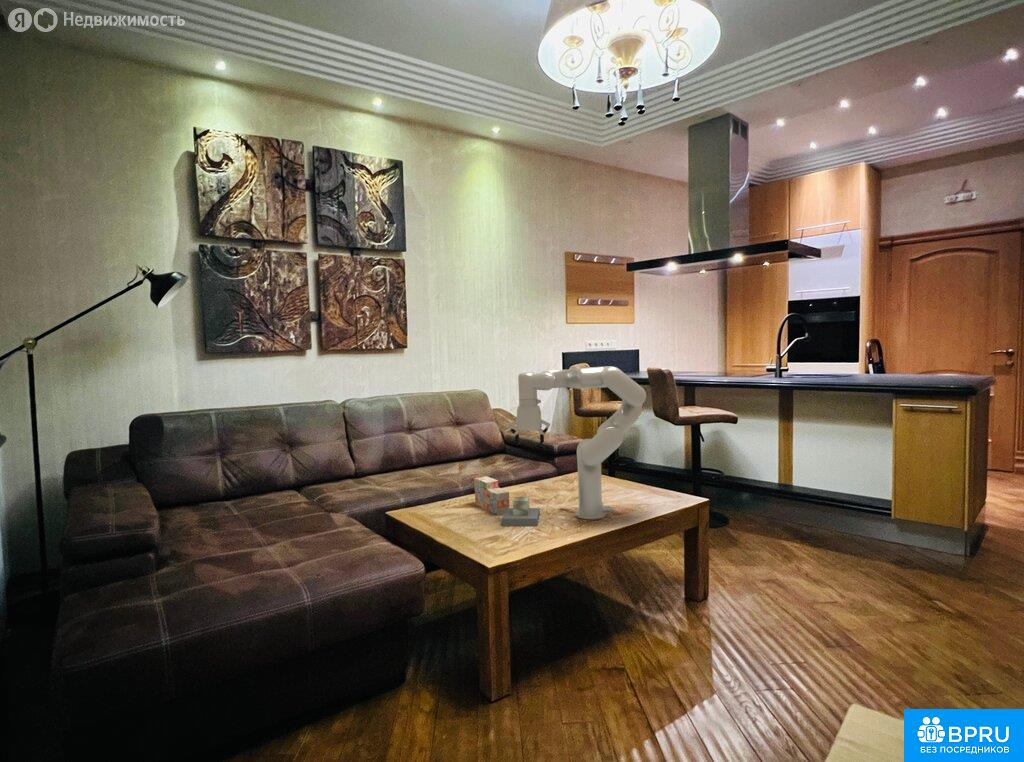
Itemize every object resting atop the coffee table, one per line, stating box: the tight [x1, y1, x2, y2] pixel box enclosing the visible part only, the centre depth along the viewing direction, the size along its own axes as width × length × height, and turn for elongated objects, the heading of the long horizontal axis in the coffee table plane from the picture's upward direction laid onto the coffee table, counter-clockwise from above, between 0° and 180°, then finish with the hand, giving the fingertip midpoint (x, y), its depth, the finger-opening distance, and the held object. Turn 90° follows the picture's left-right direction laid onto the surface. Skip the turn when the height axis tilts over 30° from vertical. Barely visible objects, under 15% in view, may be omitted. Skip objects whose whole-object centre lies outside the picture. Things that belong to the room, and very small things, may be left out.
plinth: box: [501, 507, 541, 527], centre depth 222 cm, size 14×14×3 cm
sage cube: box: [512, 496, 530, 515], centre depth 222 cm, size 6×6×6 cm
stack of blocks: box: [473, 475, 510, 516], centre depth 241 cm, size 21×6×12 cm, turn 30°
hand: (529, 444), depth 225 cm, fingers open, 9 cm apart
